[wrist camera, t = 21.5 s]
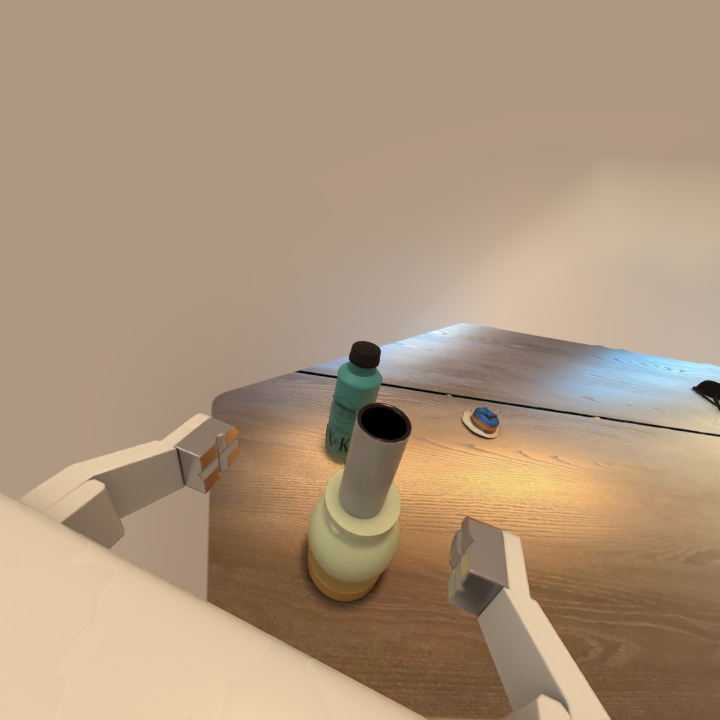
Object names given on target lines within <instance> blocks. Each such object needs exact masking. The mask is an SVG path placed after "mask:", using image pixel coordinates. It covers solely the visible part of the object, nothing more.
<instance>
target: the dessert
mask: <svg viewBox="0 0 720 720" xmlns="http://www.w3.org/2000/svg"><path fill="white" fill-rule="evenodd" d="M463 413H464V415H463V416H462V421H463V422H464V423H465V424H466V425H467V426H468V427H469V429H471V430H472V431H473V432H475V433H477V434H479V435H482V436H485V437H487V438H495V437H497V436H498V434H499V427H498V425H499V420H498V418H497V415H495V414H494V413H493V412H491V411H490V410H488V409H487V407H484V408H477V409H475V410H468V411H464V412H463Z"/></svg>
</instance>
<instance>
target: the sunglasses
mask: <svg viewBox="0 0 720 720" xmlns="http://www.w3.org/2000/svg"><path fill="white" fill-rule="evenodd" d="M692 389H693V390H694V391H695V392H697V393H698V394H699V395H701V396H702V397H703V398H705V399H706V400H708V401H709V402H710V403H712V404H713V405H715V406H716V407H717V408H718V409H719V411H720V404H719V402H718V400H720V383H717V382H714V381H710V380H706V381H703V382H701V383H700V384H699V385H698V386H696V387H694V386H693V388H692ZM703 394H704V395H703ZM705 395H707V396H709V397H712V398H713V400H714V402H715V403H714V402H713V401H712V400H710V399H709V398H707V397H706V396H705Z"/></svg>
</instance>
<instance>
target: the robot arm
mask: <svg viewBox="0 0 720 720" xmlns="http://www.w3.org/2000/svg"><path fill="white" fill-rule="evenodd" d="M238 436H239V430H238V428H236V427H234V426H232V425H229V424H227V423H225V422H222V421H220V420H218V419H215V418H213V417H210V416H208V415H205V414H203V413H200V414H196V415H195V416H193V417H192V418H191V419H190V420H188V421H187V422H185V423H184V424H183V425H181V426H180V427H179V428H177V429H176V430H175V431H173V432H172V433H171V434H169V435H168V436H167V437H165V438H164V439H163V440H161V441H158V440H156V441H152V442H149V443H145V444H142V445H138V446H135V447H131V448H128V449H125V450H121V451H118V452H114V453H111V454H108V455H104V456H101V457H97V458H94V459H91V460H87V461H84V462H80V463H77V464H73V465H71V466H69V467H67V468H65V469H64V470H62V471H61V472H59V473H58V474H56V475H55V476H53V477H51V478H50V479H49V480H47V481H45V482H44V483H42V484H41V485H39V486H37V487H36V488H34V489H33V490H31V491H30V492H28V493H27V494H25V495H23V496H22V497H20V498H19V499H17V500H16V499H14V498H12V497H11V496H9V495H7V494H5V493H3V492H1V491H0V720H428V719H426V718H425V717H423V716H421V715H419V714H417V713H415V712H413V711H411V710H410V709H408V708H406V707H404V706H402V705H400V704H398V703H396V702H395V701H393V700H391V699H389V698H387V697H385V696H383V695H381V694H380V693H378V692H376V691H374V690H372V689H370V688H368V687H366V686H365V685H363V684H361V683H359V682H357V681H355V680H353V679H352V678H350V677H348V676H346V675H344V674H342V673H340V672H338V671H337V670H335V669H333V668H331V667H329V666H327V665H325V664H323V663H322V662H320V661H318V660H316V659H314V658H312V657H310V656H308V655H307V654H305V653H303V652H301V651H299V650H297V649H295V648H293V647H292V646H290V645H288V644H286V643H284V642H282V641H280V640H278V639H277V638H275V637H273V636H271V635H269V634H267V633H265V632H263V631H262V630H260V629H258V628H256V627H254V626H252V625H250V624H248V623H247V622H245V621H243V620H241V619H239V618H237V617H235V616H234V615H232V614H230V613H228V612H226V611H224V610H222V609H220V608H219V607H217V606H215V605H213V604H211V603H209V602H207V601H205V600H203V599H202V598H200V597H198V596H196V595H194V594H192V593H190V592H189V591H187V590H185V589H183V588H181V587H179V586H177V585H175V584H174V583H172V582H170V581H168V580H166V579H164V578H162V577H160V576H158V575H157V574H155V573H153V572H151V571H149V570H147V569H145V568H143V567H142V566H140V565H138V564H136V563H134V562H132V561H130V560H128V559H127V558H125V557H123V556H121V555H119V554H117V553H115V552H114V551H112V550H110V548H111V547H112V546H113V545H114V544H115V543H116V542H117V541H118V540H119V539H120V538H121V537H122V536H123V535H124V531H125V530H124V528H123V526H122V523H121V521H120V518H122V517H124V516H127V515H129V514H130V513H133V512H135V511H136V510H139V509H141V508H143V507H145V506H146V505H149V504H151V503H153V502H155V501H156V500H159V499H161V498H163V497H165V496H167V495H168V494H171V493H173V492H175V491H177V490H179V489H181V488H183V487H184V485H185V486H188V487H190V488H193V489H195V490H198V491H200V492H202V493H205V494H206V493H207V492H208V491H209V490H210V489H211V488H212V487H213V485H214V484H215V483H216V482H217V481H218V480H219V479H220V472H222V471H225V470H227V469H229V468H230V467H231V466H232V465H233V463H234V462H235V460H236V459H237V457H238V455H239V451H240V444H239V442H238V441H237V439H236V438H237V437H238ZM449 562H450V564H451V567H452V569H453V572H452V573H451V575H450V577H449V582H448V603H449V604H451V605H453V606H455V607H457V608H459V609H461V610H464V611H466V612H468V613H470V614H472V615H474V616H476V617H478V618H477V621H478V623H479V626H480V628H481V631H482V633H483V636H484V638H485V641H486V644H487V646H488V649H489V651H490V654H491V656H492V659H493V661H494V664H495V666H496V669H497V671H498V674H499V677H500V679H501V682H502V684H503V687H504V689H505V692H506V694H507V697H508V699H509V702H510V705H511V707H512V710H513V712H512V713H510V714H509V715H507V716H506V717H504V718H503V719H501V720H611V719H610V717H609V716H608V714H607V713H606V711H605V709H604V708H603V706H602V705H601V703H600V701H599V700H598V698H597V697H596V695H595V693H594V692H593V690H592V689H591V687H590V686H589V684H588V682H587V681H586V679H585V678H584V676H583V674H582V673H581V671H580V670H579V668H578V666H577V665H576V663H575V662H574V660H573V658H572V657H571V655H570V654H569V652H568V650H567V649H566V647H565V646H564V644H563V643H562V641H561V639H560V638H559V636H558V635H557V633H556V631H555V630H554V628H553V627H552V625H551V623H550V622H549V620H548V619H547V617H546V615H545V614H544V612H543V611H542V609H541V608H540V606H539V604H538V603H537V601H535V600H533V599H531V597H530V591H529V585H528V580H527V574H526V568H525V562H524V556H523V550H522V544H521V540H520V538H519V536H517V535H514V534H512V533H509V532H507V531H504V530H501V529H499V528H497V527H495V526H492V525H489V524H486V523H484V522H481V521H478V520H476V519H473V518H470V517H468V516H467V517H465V518H464V519H463V521H462V527H461V530H458V531H457V532H456V534H455V536H454V538H453V541H452V545H451V550H450V561H449Z"/></svg>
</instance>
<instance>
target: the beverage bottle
mask: <svg viewBox="0 0 720 720" xmlns="http://www.w3.org/2000/svg"><path fill="white" fill-rule="evenodd" d="M380 354H381V350H380V348H379V347H378V346H377V345H375V344H373V343H370V342H366V341H359V342H356V343H354V344H353V346H352V349H351V352H350V354H349V360H350V362H347V363H345V364H343V365H342V366H341V367H340V368H339V370H338V378H337V383H336V388H335V393H334V395H333V396H334V397H333V402H332V407H331V413H330V416H329V417H330V418H329V423H328V424H327V431H326V446H327V448H328V450H329V451H330V452H331V453H332V454H333V455H335V456H337V457H340V458H347V455H348V451H349V446H350V442H351V438H352V434H353V430H354V425H355V421H356V417H357V414H358V412H359V410H360V409H361V408H362V407H363V406H365V405H367V404H371V403H375V402H376V398H377V395H378V391H379V388H380V385H381V382H382V376H381V374H380V372H379V371H378V370H377V369H376V368H375V367H377V366H378V365H379V362H380Z"/></svg>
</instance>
